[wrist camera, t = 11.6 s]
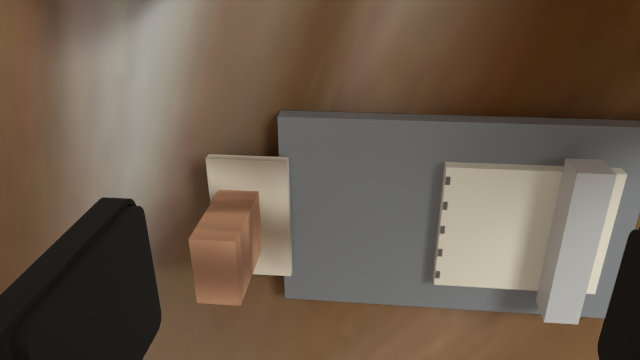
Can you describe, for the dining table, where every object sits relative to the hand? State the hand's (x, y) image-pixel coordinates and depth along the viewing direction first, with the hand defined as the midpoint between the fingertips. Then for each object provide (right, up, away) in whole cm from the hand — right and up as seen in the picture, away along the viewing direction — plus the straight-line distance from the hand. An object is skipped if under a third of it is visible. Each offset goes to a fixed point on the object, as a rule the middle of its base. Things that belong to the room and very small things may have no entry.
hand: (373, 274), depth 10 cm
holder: (+9, -1, +31) cm, 32 cm away
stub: (-6, -1, +31) cm, 31 cm away
